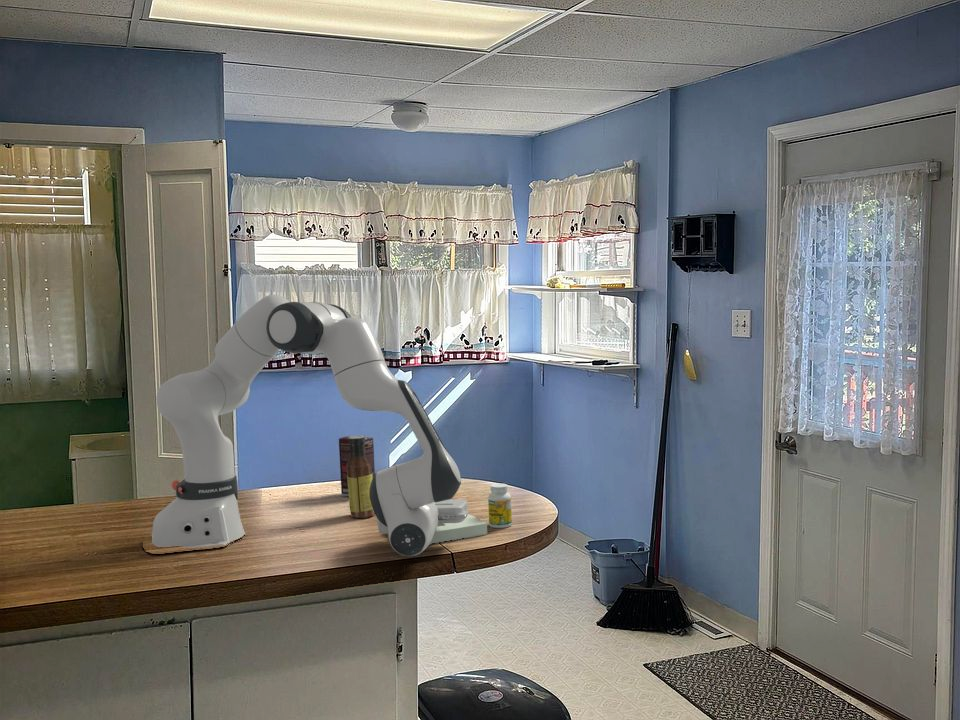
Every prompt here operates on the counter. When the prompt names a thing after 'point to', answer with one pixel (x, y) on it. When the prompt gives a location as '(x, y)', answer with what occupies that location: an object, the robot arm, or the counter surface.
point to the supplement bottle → (499, 506)
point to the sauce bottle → (359, 479)
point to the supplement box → (345, 455)
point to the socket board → (459, 530)
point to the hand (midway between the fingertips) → (425, 501)
